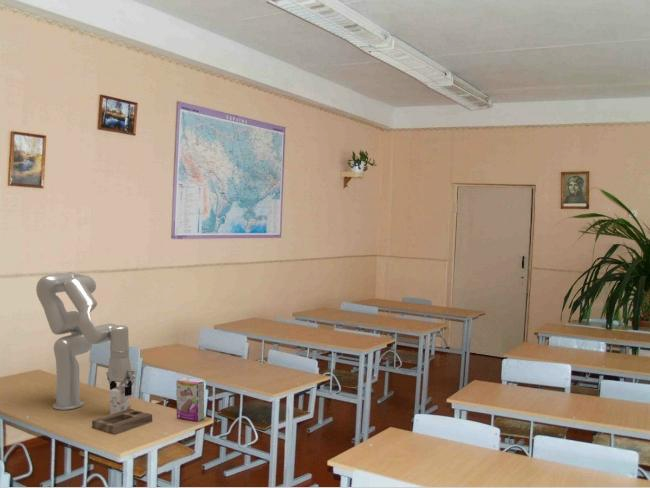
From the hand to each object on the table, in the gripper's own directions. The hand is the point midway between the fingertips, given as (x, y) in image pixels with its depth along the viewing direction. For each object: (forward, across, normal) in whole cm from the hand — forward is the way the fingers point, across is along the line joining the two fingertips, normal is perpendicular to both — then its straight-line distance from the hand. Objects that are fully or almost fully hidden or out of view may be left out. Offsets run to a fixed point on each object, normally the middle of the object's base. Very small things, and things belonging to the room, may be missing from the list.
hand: (120, 393), depth 275 cm
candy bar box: (+10, +28, +13) cm, 33 cm away
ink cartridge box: (+9, -1, 0) cm, 9 cm away
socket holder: (+9, +11, -8) cm, 16 cm away
